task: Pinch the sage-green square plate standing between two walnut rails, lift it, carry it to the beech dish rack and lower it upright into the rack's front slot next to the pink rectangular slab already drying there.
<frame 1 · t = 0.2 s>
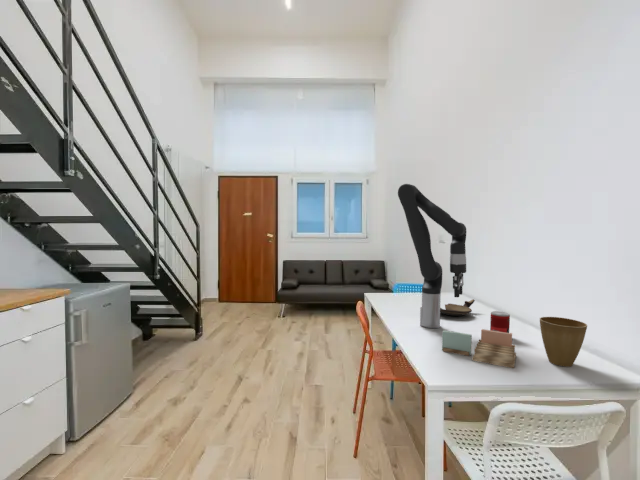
hand: (458, 295, 178), 17 cm above the table, tool pointing down, fingers open, 8 cm apart
canned food: (499, 336, 170), on the table
broken bowl: (455, 315, 211), on the table
green plate: (456, 352, 147), on the table
pink rectangular slab: (495, 351, 145), point 1 cm above the table, touching rack
rack: (494, 358, 141), on the table
plant pot: (561, 363, 136), on the table
stand rails: (456, 352, 147), on the table
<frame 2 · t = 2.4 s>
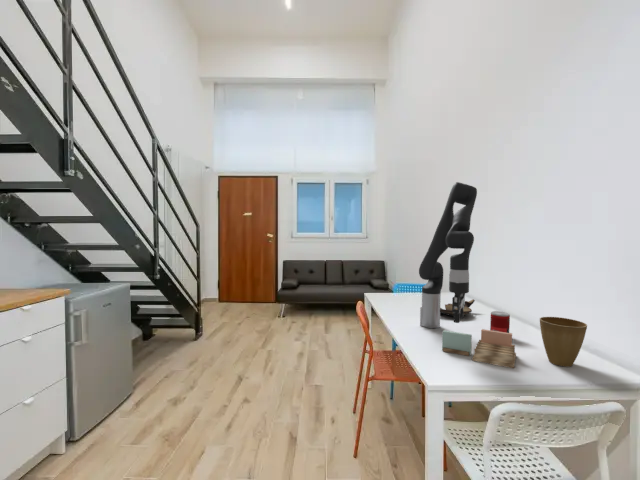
hand: (458, 320, 147), 13 cm above the table, tool pointing down, fingers open, 8 cm apart
nothing on the table moved.
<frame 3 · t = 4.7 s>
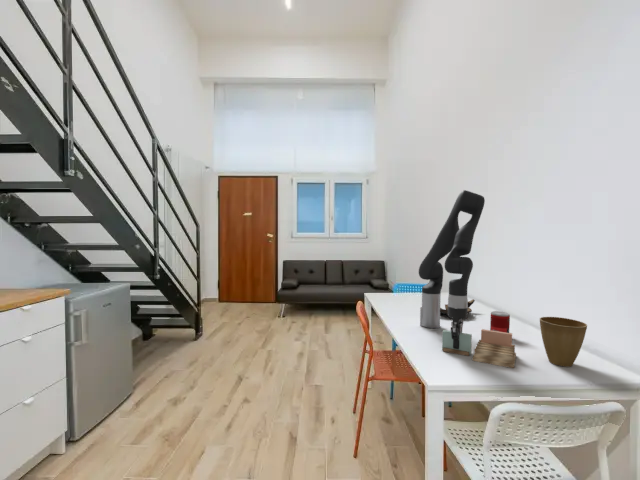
hand: (456, 347, 147), 2 cm above the table, tool pointing down, fingers closed on green plate, 1 cm apart
green plate: (456, 352, 147), on the table, touching gripper
everything else where it was.
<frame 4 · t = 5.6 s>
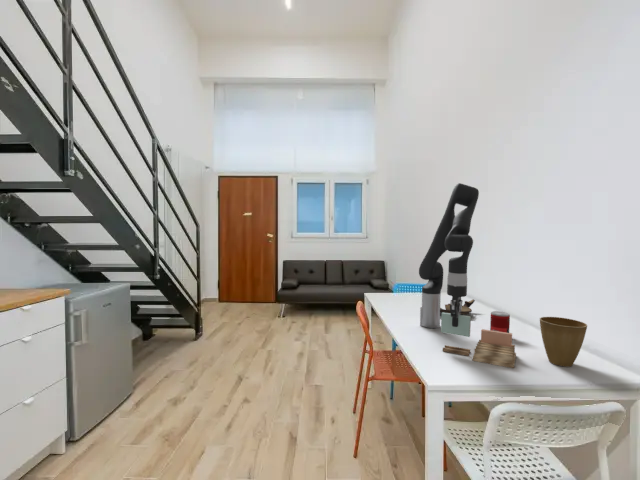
hand: (455, 325, 147), 11 cm above the table, tool pointing down, fingers closed on green plate
green plate: (455, 334, 147), point 7 cm above the table, touching gripper
everything else where it was.
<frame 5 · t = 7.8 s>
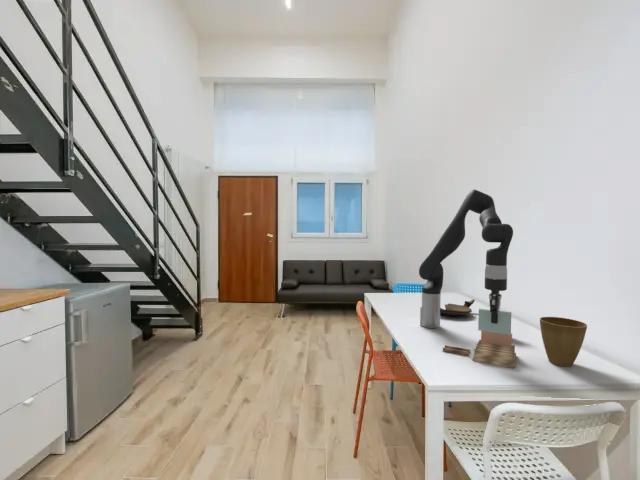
hand: (494, 322, 136), 15 cm above the table, tool pointing down, fingers closed on green plate
green plate: (494, 331, 136), point 12 cm above the table, touching gripper
everything else where it was.
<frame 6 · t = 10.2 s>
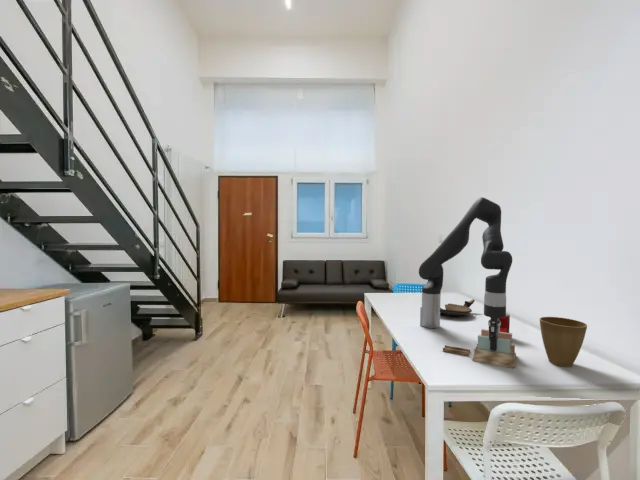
hand: (493, 348, 136), 5 cm above the table, tool pointing down, fingers closed
green plate: (493, 358, 137), point 1 cm above the table, touching rack
everything else where it was.
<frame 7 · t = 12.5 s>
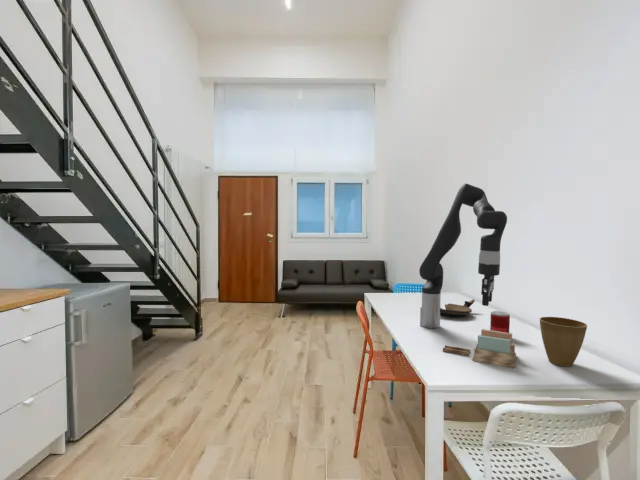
hand: (486, 303, 141), 21 cm above the table, tool pointing down, fingers open, 8 cm apart
nothing on the table moved.
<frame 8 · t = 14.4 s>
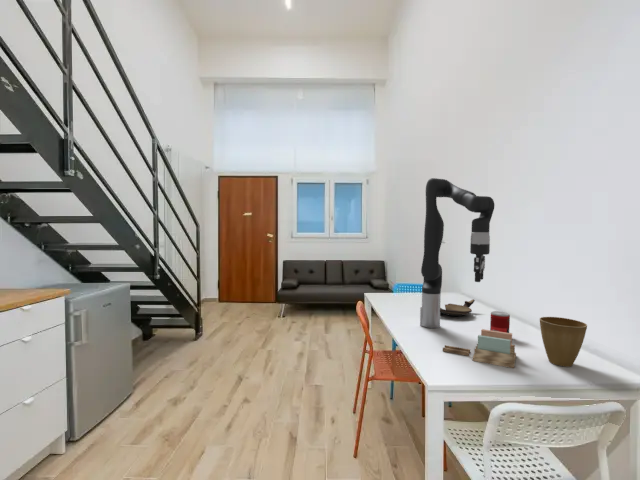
hand: (479, 280, 155), 28 cm above the table, tool pointing down, fingers open, 8 cm apart
nothing on the table moved.
at the end: green plate 0.1 cm from the target spot on the rack, point 1.2 cm above the rack's base; green plate tilted 0°; the gripper is holding nothing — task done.
